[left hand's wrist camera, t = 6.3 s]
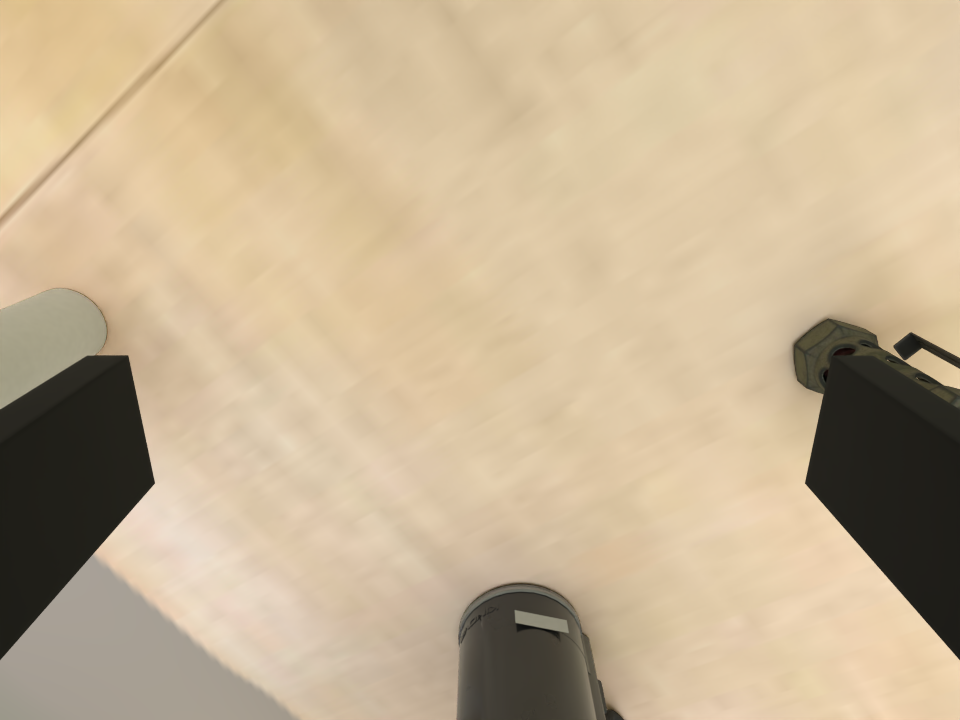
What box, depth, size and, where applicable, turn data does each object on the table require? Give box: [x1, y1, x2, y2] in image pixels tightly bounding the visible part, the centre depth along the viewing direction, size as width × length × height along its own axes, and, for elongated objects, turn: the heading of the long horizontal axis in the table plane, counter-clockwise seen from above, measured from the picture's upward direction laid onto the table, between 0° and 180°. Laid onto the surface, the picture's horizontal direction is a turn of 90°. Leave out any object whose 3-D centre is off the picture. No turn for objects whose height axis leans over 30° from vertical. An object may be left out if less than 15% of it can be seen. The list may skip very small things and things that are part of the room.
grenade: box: [794, 319, 960, 409], centre depth 34 cm, size 9×6×15 cm, turn 134°
